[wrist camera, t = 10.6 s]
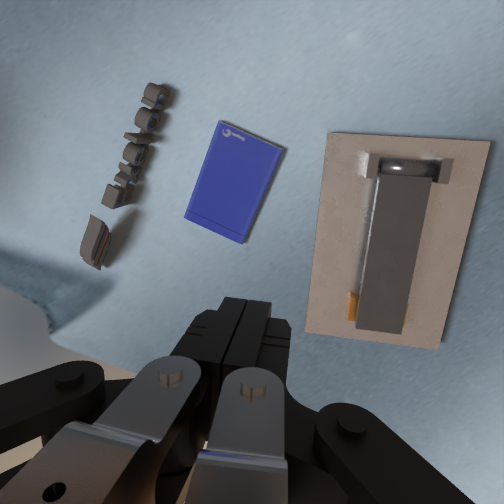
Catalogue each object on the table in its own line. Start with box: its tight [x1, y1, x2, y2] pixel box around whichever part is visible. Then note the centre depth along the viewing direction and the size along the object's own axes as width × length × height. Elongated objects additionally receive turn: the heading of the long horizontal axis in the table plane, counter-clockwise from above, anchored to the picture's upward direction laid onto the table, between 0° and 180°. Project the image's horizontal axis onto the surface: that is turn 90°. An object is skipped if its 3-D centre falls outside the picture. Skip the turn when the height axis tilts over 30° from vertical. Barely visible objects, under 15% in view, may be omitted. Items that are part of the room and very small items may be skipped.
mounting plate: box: [305, 133, 491, 350], centre depth 39 cm, size 24×16×5 cm, turn 177°
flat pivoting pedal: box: [354, 157, 436, 335], centre depth 37 cm, size 19×5×2 cm, turn 177°
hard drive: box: [184, 121, 284, 244], centre depth 42 cm, size 2×8×12 cm
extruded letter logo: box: [80, 83, 170, 270], centre depth 42 cm, size 25×2×6 cm, turn 153°
